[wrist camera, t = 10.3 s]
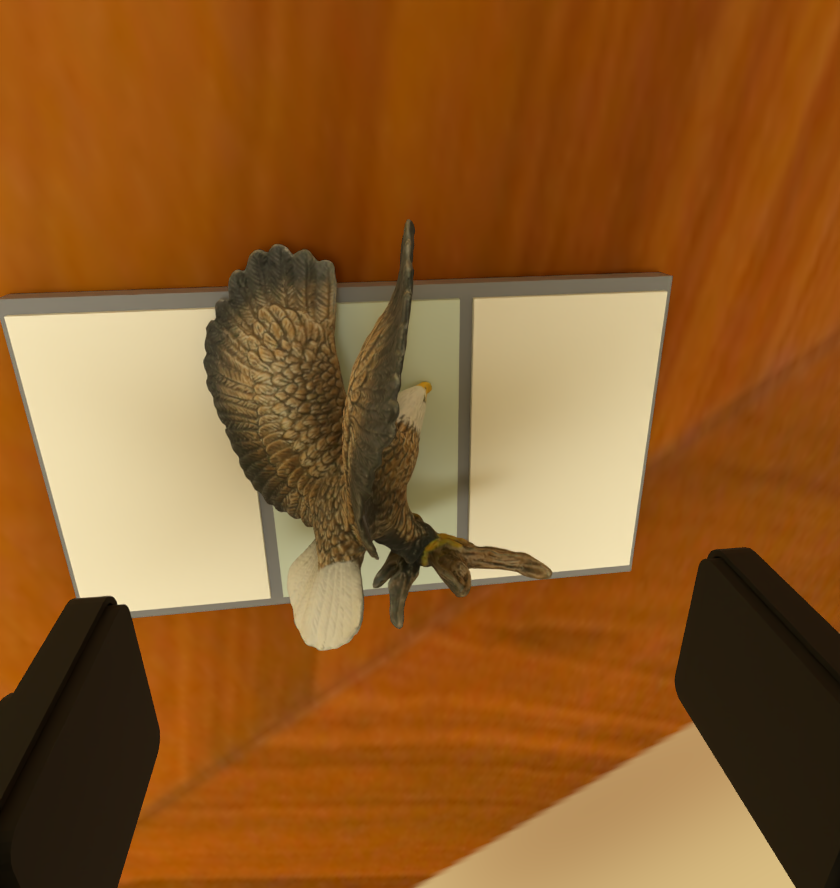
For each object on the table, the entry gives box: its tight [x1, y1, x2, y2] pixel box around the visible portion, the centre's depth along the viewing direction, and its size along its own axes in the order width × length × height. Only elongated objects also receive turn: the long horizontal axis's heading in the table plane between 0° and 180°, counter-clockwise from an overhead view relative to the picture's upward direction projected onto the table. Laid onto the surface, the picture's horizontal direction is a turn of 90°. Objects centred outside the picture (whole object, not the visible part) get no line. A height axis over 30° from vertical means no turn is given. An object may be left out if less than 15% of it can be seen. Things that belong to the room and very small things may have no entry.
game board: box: [0, 272, 673, 618], centre depth 19 cm, size 18×10×1 cm, turn 91°
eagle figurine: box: [203, 219, 552, 651], centre depth 15 cm, size 8×7×9 cm
